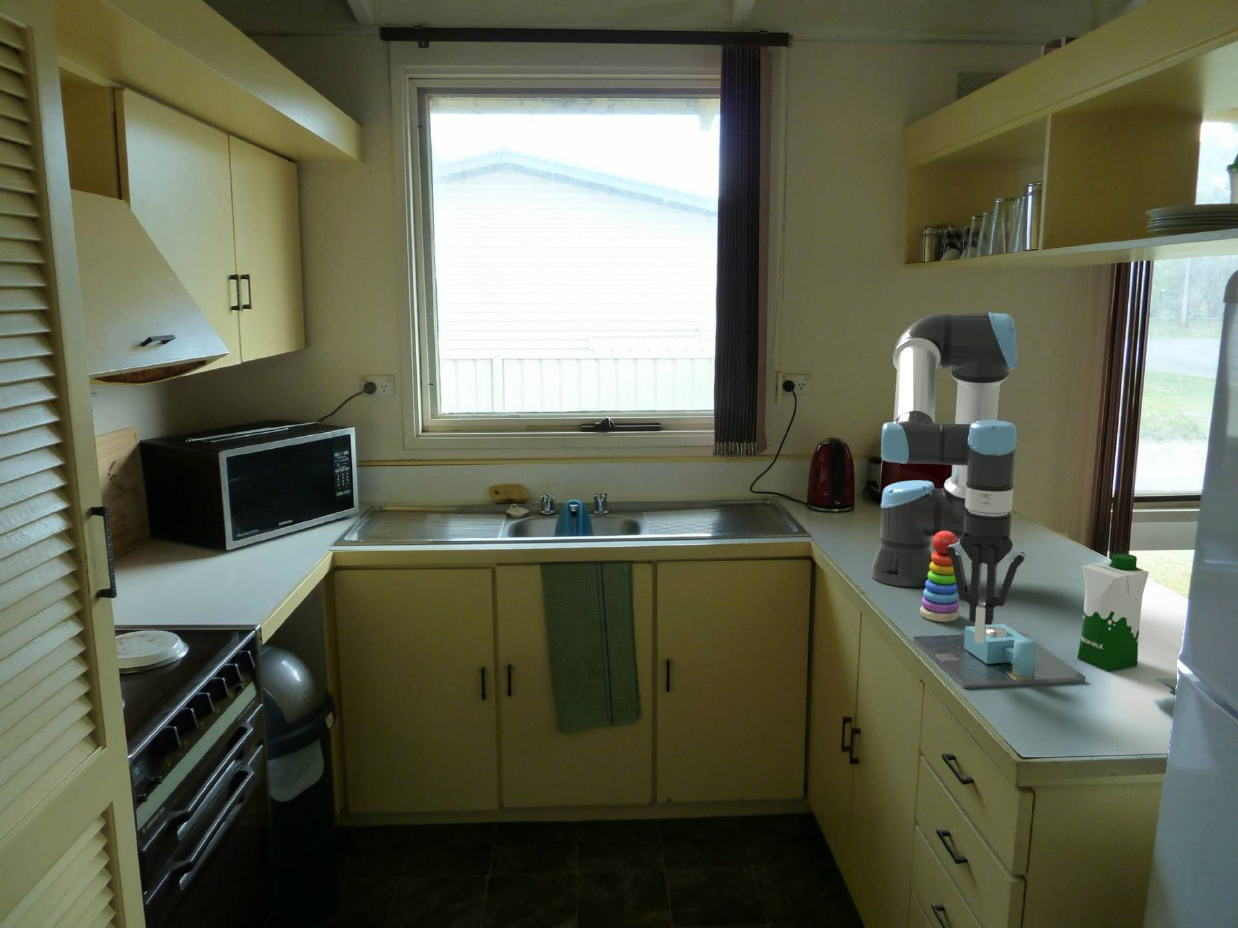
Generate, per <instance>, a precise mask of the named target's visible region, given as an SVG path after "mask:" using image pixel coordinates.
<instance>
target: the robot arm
mask: <svg viewBox="0 0 1238 928" xmlns="http://www.w3.org/2000/svg"><path fill="white" fill-rule="evenodd" d="M1016 334H1017V333H1016V325H1015V321H1014V318H1013V317H1012V316H1011V315H1010V314H1008V313H992V312H990V311H989V312H978V313H977V312H975V313H974V312H973V313H972V312H971V313H969V312H968V313H934V314H930V315H927V316H925V317H922V318H920V319H918V320H916V321H915V322H913V323H912V324H911V325H909V326H908V327H907V328H906V329H905V330H904V331H903V332H902V333H901V335H900V337H898V339H897V341H896V342H895V345H894V348H893V351H892V352H893V354H892V364H893V366H894V368H895V370H896V379H895V380H896V383H895V394H894V395H895V397H894V413H893V421H891V422H889V421H888V422H884V423H883V425H882V428H881V440H880V441H881V442H880V443H881V444H880V445H881V447H880V454H881V455H880V457H881V459H882V460H883V461H885V462H887V463H888V462H889V463H899V464H902V465H906V464H908V465H909V464H914V465H915V464H916V465H917V464H918V465H919V464H920V465H944V466H951V476H950V477H949V478H947V479H946V480H945V482H944V484H943V488H935V484H934V483H933V482H932V481H929V480H918V479H917V480H904V481H898V482H895V483H890V484H889V485H887V486H885V487H884V488H883V490H882V496H881V503H880V508H881V517H880V518H881V519H880V537H879V538H880V539H879V540H880V541H879V547H878V549H877V551H876V555H875V557H874V560H873V563H872V566H871V577H872V578H873V579H874V580H875V581H877V582H880V583H882V584H885V585H889V586H890V585H891V586H894V587H895V586H896V587H907V588H911V587H912V588H915V587H916V588H917V587H920V588H921V587H926V586H925V583H926V581H927V580H928V573H929V571H931V570H930V567H929V566H930V563H931V562H933V561H932V559H931V555H932V554H933V552H932V539H933V538H934V536H935V535H936V534H937V533H938V532H940V531H949V532H952V533H953V534H954V535H955V536H956V537H957V539H958V540H959V541H958V543H955V544H950V545H949V546H948V548H947V549H946V552H947V554H948V555H949V557H950V558H951V560H952V564H953V569H954V574H955V579H956V584H957V592H958V595H959V597H958V599H959V600H960V601H961V602H966V603H967V604H969V613H968V614H969V617H968V619H969V622H970V623H974V626H975V637H974V642H977V643H984V641H985V639H986V625H993V624H992V623H994V614H995V607H1004V605H1005V602H1006V601H1007V598H1008V596H1009V593H1010V590H1011V587H1012V584H1013V581H1014V578H1015V575H1016V573H1017V570H1018V568H1019V566H1021V564H1022V563H1023V562H1024V561H1025V559H1026V553H1025V552H1021V551H1018V550H1017V549H1016V548H1015V547H1013V546H1014V544H1013V542H1012V540H1011V525H1012V514H1011V513H1010V512H1011V511H1012V510H1013V509H1012V508H1013V497H1014V496H1013V495H1014V475H1015V464H1016V461H1015V460H1016V452H1017V450H1016V449H1017V447H1018V440H1017V427H1016V425H1015V424H1014V423H1012V422H1008V421H1004V420H998V410H999V399H1000V388H1001V386H1000V385H1001V384H1003V382H1005V381H1006V380H1007V379H1008V378H1009V373H1010V370H1011V371H1012V370H1015V369H1017V368H1018V345H1017V335H1016ZM941 368H943V369H951V370H950V376H951V377H952V378H953V379H954V380H955V381H956V382H957V393H956V407H955V422H954V423H936V371H937V369H941ZM963 551H964V552H965V554H966V555H967V557H968V558H969V559H970V560H971V566H970V567H971V576H970V577H971V578H970V590H969V588H968V582H967V577H966V572H965V568H964V564H963V562H964V561H963V557H962V553H963ZM1008 554H1009V557H1008V560H1009V562H1010V564H1009V566H1008V569H1007V572H1006V575H1005V577H1004V580H1003V582H1002V586H1001V589H1000V591H999V594H998V596H997V597H996V591H997V573H998V572H997V571H998V564H999V563H1000V562H1001V561H1002V560H1003V559H1004V558H1005V557H1006V556H1007V555H1008ZM982 564H985V565H986V566H987V567H986V588H985V590H986V591H985V602H980V599H981V597H980V593H981V577H982Z"/></svg>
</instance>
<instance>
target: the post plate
mask: <svg viewBox="0 0 1238 928" xmlns="http://www.w3.org/2000/svg"><path fill="white" fill-rule="evenodd" d="M1016 632H1017V633H1019V634H1021V635H1022V636H1024V637H1026V638H1030V639H1032V638H1031V637H1029V636H1028V635H1026V634H1025V633H1024V632H1022V631H1016ZM1006 633H1007V631H1006V630H1005V629H1003V628H1000V627H987V628H986V635H987V636H989V637H990V638H998V637H1006ZM912 637H913V638H912V641H913V643H914V644H915V645H916V646H917V647H919V649H921V650H922V652H924V653H925V654H926V655H927V656H928V657H930V659H932V661H934V663H936V664H937V666H939V667H940V668H941V669H942V670H943V671H944V672H945V673H946V674H947V675H949V676H950V677H951V678H952V679H953V680H954V681H955V682H956V683H957V684H958V685H959V686H960V687H961V688H962V689H973V688H974V689H975V688H976V689H979V688H980V689H981V688H995V687H996V688H997V687H998V688H1000V687H1017V686H1019V687H1020V686H1034V685H1035V686H1036V685H1037V686H1039V685H1040V686H1041V685H1057V684H1058V685H1060V684H1076V683H1086V676H1085V675H1083V674H1082V673H1080V672H1079V671H1078V670H1076V669H1075V668H1073V667H1072V666H1071V665H1070V664H1068V663H1066V662H1065V661H1063V660H1062V659H1061V658H1059V657H1058V656H1056V655H1055V654H1054V653H1052V652H1050V651H1049V650H1048V649H1046V648H1045V647H1044V646H1042V645H1040V644H1039V643H1037V645H1036V659H1035V673H1034V676H1033V677H1029V678H1025V677H1019V676H1016V675H1014V674H1013V673H1012V666H1013V664H1012V663H1010V662H1003V663H992V664H986V663H985V662H983V661H982V660H980V659H979V658H978V657H976V656H975V655H973V654H972V653H970V652H969V651H968V650H966V649H965V648H964V638H965V633H963V634H945V635H943V634H942V635H921V636H912Z"/></svg>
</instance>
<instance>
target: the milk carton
mask: <svg viewBox="0 0 1238 928" xmlns="http://www.w3.org/2000/svg"><path fill="white" fill-rule="evenodd" d="M1137 561H1138V557H1137V556H1136V555H1133V554H1130V553H1122V552H1118V553H1112V554H1111V560H1110V561H1104V562H1095V563H1094V562H1093V563H1091V564H1087V565H1082V566H1081V569H1082V574H1083V581H1084V602H1083V614H1082V627H1081V635H1080V640H1079V645H1078V646H1079V647H1078V651H1077V652H1078V653H1077V656H1076V658H1077V659H1079V660H1081V661H1082V662H1085V663H1088V664H1090V665H1092V666H1094V667H1097V668H1099V669H1100V670H1103V671H1106V672H1108V673H1110V672H1114V671H1120V670H1123V669H1124V670H1125V669H1130V668H1134V667H1137V666H1139V665H1138V664H1139V663H1138V662H1139V661H1138V657H1139V637H1140V625H1141V616H1142V615H1141V614H1142V604H1143V603H1142V602H1143V595H1144V591H1145V588H1146V584H1147V580H1148V577H1149V573H1150V572H1149V571H1147V570H1144V569H1142V568H1139V567H1137V563H1138V562H1137Z"/></svg>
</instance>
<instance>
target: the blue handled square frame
mask: <svg viewBox="0 0 1238 928" xmlns="http://www.w3.org/2000/svg"><path fill="white" fill-rule="evenodd" d="M987 627H1000V628H1003V629H1005V630H1006V631H1007V633H1006V637H998V638H990V637H989V636H987V635H986V639H985V641H984V643H977V642H974V637H975V625H972V626H971V625H970V626H964V634H965V638H964V648H965V649H966V650H968V651H969V652H970V653H972V654H973V655H975V656H976V657H978V658H979V659H980V660H982V661H983V662H985V663H986V664H992V663H1003V662H1010V663H1012V664H1013V666H1012V673H1013V674H1014V675H1016V676H1019V677H1025V678H1029V677H1033V676H1034V673H1035V659H1036V645H1037V641H1036V640H1035V639H1034V638H1033V639H1032V638H1031V637H1029V638H1026V637H1024V636H1022V635H1021V634H1019V633H1017V632H1018V631H1016V630H1014V629H1013V628H1011V627H1009V626H1008V625H1006V624H1005V623H996V624H991V625H986V628H987ZM1030 638H1031V639H1030Z"/></svg>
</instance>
